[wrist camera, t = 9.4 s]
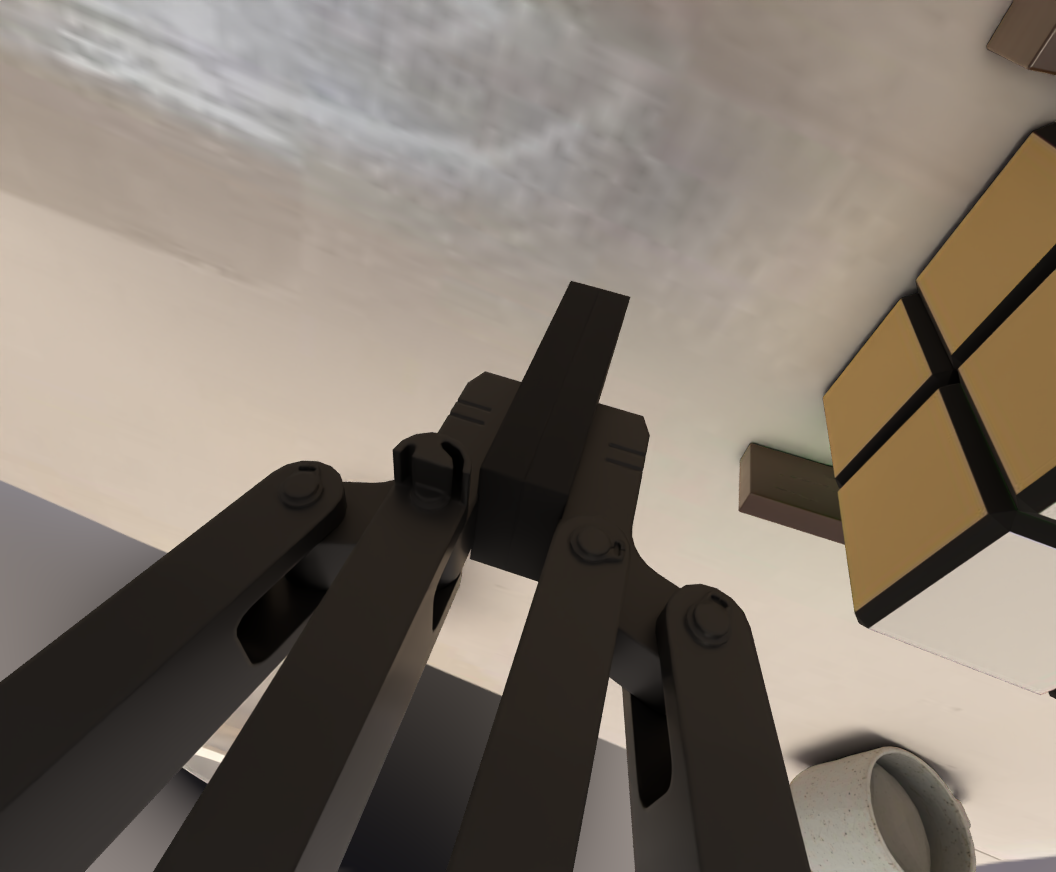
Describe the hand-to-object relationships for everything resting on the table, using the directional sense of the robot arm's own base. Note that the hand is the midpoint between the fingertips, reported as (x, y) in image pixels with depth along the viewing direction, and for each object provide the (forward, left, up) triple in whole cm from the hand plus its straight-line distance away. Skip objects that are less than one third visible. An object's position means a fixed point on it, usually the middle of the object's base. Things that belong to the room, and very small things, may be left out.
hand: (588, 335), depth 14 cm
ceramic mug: (+31, +26, -7) cm, 41 cm away
